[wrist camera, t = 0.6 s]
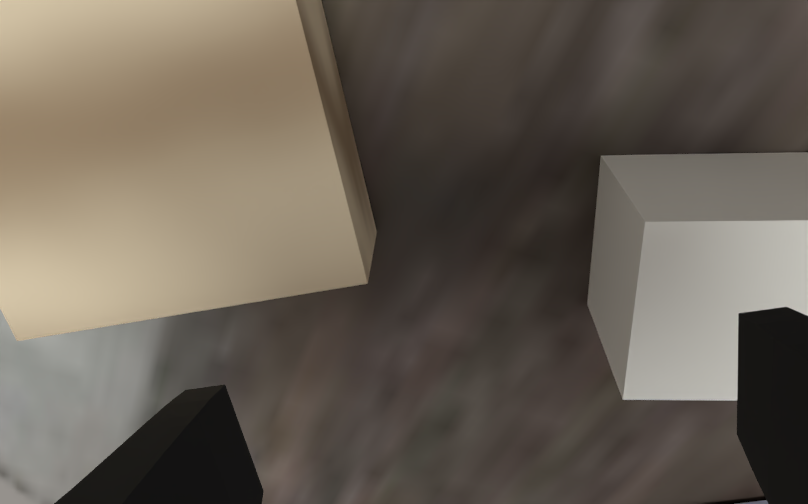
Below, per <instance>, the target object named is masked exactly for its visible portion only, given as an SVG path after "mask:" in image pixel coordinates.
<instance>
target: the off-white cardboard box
mask: <svg viewBox="0 0 808 504" xmlns="http://www.w3.org/2000/svg"><path fill="white" fill-rule="evenodd" d="M587 305H588V308H589V310H590V313H591V316H592V318H593V321H594V324H595V326H596V329H597V332H598V335H599V337H600V340H601V343H602V345H603V348H604V351H605V353H606V356H607V359H608V361H609V364H610V367H611V369H612V372H613V375H614V378H615V380H616V383H617V386H618V388H619V391H620V394H621V396H622V399H623V400H737V394H738V314H739V313H745V312H752V311H759V310H767V309H774V308H781V307H788V308H791V309H793V310H795V311H798V312H800V313H802V314H805V315H807V316H808V152H786V153H722V154H657V155H604V156H601V160H600V170H599V181H598V192H597V203H596V214H595V225H594V236H593V247H592V257H591V268H590V279H589V290H588V301H587Z"/></svg>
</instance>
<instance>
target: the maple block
mask: <svg viewBox="0 0 808 504" xmlns="http://www.w3.org/2000/svg"><path fill="white" fill-rule="evenodd" d="M376 234H377V230H376V226H375V222H374V218H373V214H372V210H371V205H370V201H369V197H368V193H367V189H366V184H365V180H364V176H363V172H362V168H361V164H360V159H359V155H358V151H357V147H356V143H355V138H354V134H353V130H352V126H351V122H350V118H349V113H348V109H347V105H346V101H345V97H344V93H343V88H342V84H341V80H340V76H339V72H338V67H337V63H336V59H335V55H334V51H333V47H332V42H331V38H330V34H329V30H328V26H327V21H326V17H325V13H324V9H323V5H322V1H321V0H0V309H1V311H2V313H3V314H4V316H5V318H6V320H7V322H8V324H9V326H10V328H11V330H12V332H13V334H14V336H15V338H16V340H17V341H20V340H27V339H33V338H39V337H45V336H51V335H57V334H63V333H69V332H75V331H81V330H88V329H94V328H100V327H106V326H112V325H118V324H124V323H130V322H136V321H142V320H149V319H155V318H161V317H167V316H173V315H179V314H185V313H191V312H197V311H203V310H210V309H216V308H222V307H228V306H234V305H240V304H246V303H252V302H258V301H264V300H271V299H277V298H283V297H289V296H295V295H301V294H307V293H313V292H319V291H325V290H331V289H338V288H344V287H350V286H356V285H362V284H368V280H369V274H370V268H371V263H372V257H373V251H374V245H375V240H376Z"/></svg>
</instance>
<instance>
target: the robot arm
mask: <svg viewBox="0 0 808 504" xmlns="http://www.w3.org/2000/svg"><path fill="white" fill-rule="evenodd" d="M737 435H738V438H739V440H740V442H741V445H742V447H743V449H744V451H745V454H746V456H747V458H748V461H749V463H750V465H751V468H752V470H753V472H754V474H755V476H756V478H757V481H758V483H759V485H760V487H761V489H762V491H763V493H764V496H765V498H766V500H762V501H753V502H745V503H736V504H808V316H807V315H805V314H802V313H800V312H798V311H795V310H793V309H791V308H788V307H781V308H774V309H767V310H759V311H752V312H745V313H739V314H738V394H737ZM262 497H263V488H262V486H261V483H260V480H259V477H258V475H257V472H256V469H255V466H254V464H253V461H252V458H251V455H250V453H249V450H248V447H247V444H246V441H245V439H244V436H243V433H242V430H241V428H240V425H239V422H238V419H237V417H236V414H235V411H234V408H233V405H232V403H231V400H230V397H229V394H228V392H227V389H226V386H225V385H219V386H212V387H205V388H197V389H190V390H185V391H184V392H182V393H181V394H180V395H178V396H177V397H176V398H174V399H173V400H172V401H171V402H170V403H168V404H167V405H166V406H165V407H164V408H162V409H161V410H160V411H159V412H158V413H157V414H155V415H154V416H153V417H152V418H151V419H150V420H149V421H147V422H146V423H145V424H144V425H143V426H142V427H141V428H140V429H139V430H137V431H136V432H135V433H134V434H133V435H132V436H131V437H130V438H129V439H127V440H126V441H125V442H124V443H123V444H122V445H121V446H120V447H118V448H117V449H116V450H115V451H114V452H113V453H112V454H111V455H110V456H108V457H107V458H106V459H105V460H104V461H103V462H102V463H101V464H99V465H98V466H97V467H96V468H95V469H94V470H93V471H92V472H90V473H89V474H88V475H87V476H86V477H85V478H84V479H83V480H81V481H80V482H79V483H78V484H77V485H76V486H75V487H74V488H72V489H71V490H70V491H69V492H68V493H66V494H65V495H64V496H63V497H62V498H60V499H59V500H58V501H57V502H56V503H54V504H262Z"/></svg>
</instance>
